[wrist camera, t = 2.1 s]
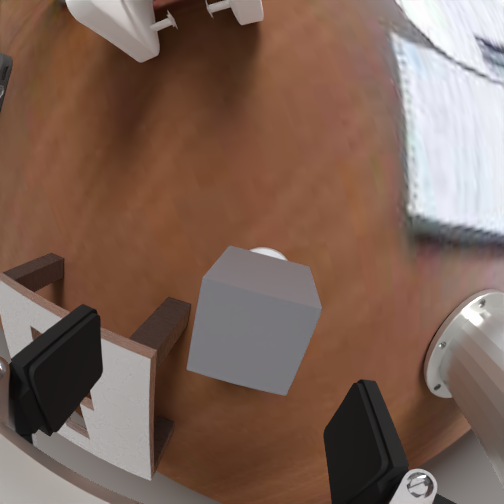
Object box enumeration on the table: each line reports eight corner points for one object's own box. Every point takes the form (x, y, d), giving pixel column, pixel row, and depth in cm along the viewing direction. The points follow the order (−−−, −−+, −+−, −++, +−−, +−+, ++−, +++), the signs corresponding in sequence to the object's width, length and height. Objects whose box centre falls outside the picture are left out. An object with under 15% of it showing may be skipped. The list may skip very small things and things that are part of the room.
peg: (304, 252, 20) (322, 309, 11) (285, 312, 21) (285, 395, 12) (238, 235, 20) (202, 277, 11) (224, 296, 22) (186, 369, 12)
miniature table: (190, 304, 22) (150, 359, 14) (173, 431, 27) (151, 481, 19) (51, 253, 23) (-6, 276, 15) (65, 380, 27) (32, 414, 20)
